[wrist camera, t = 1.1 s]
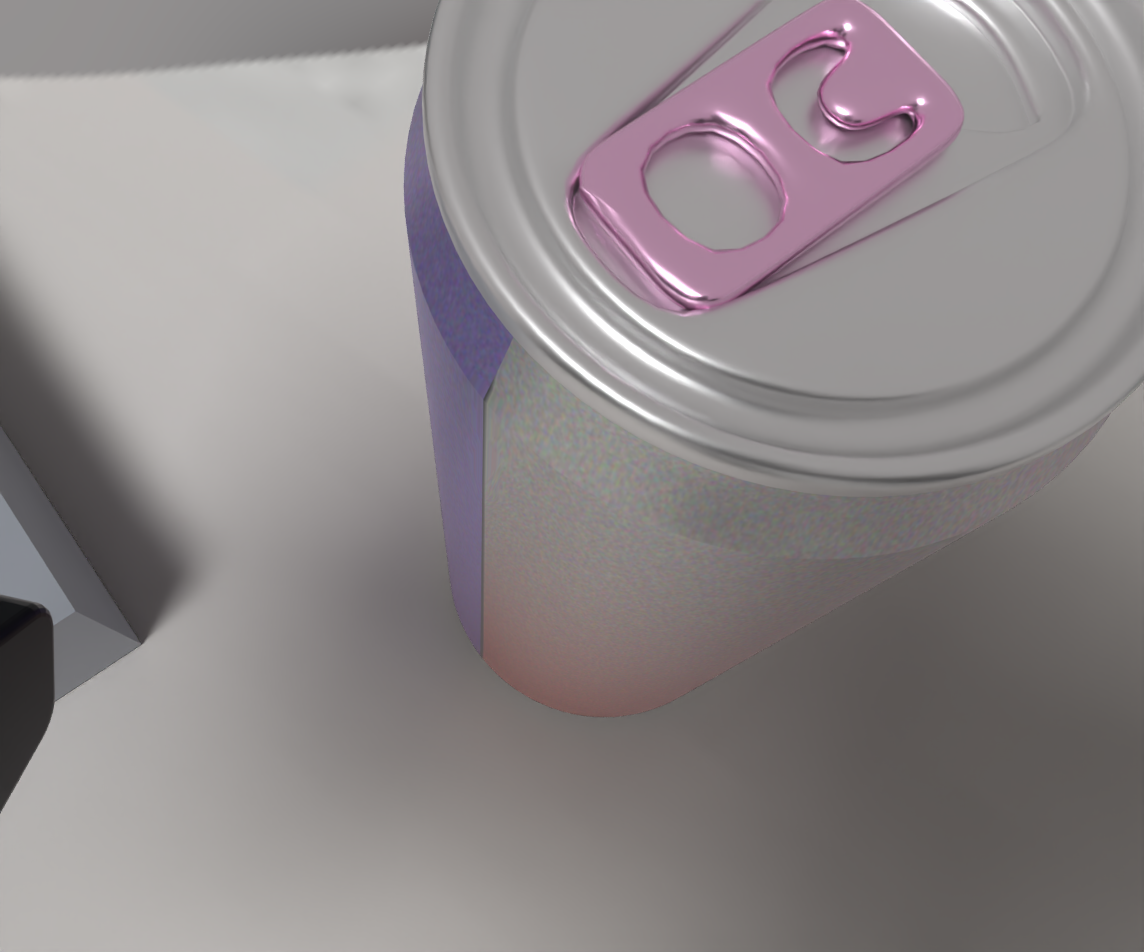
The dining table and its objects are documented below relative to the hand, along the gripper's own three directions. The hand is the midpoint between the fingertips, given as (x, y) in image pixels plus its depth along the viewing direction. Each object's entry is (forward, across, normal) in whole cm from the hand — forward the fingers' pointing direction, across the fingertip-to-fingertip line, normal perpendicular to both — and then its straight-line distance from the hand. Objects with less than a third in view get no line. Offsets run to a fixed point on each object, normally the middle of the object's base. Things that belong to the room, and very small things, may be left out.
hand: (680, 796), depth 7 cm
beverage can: (+13, 0, +6) cm, 14 cm away
